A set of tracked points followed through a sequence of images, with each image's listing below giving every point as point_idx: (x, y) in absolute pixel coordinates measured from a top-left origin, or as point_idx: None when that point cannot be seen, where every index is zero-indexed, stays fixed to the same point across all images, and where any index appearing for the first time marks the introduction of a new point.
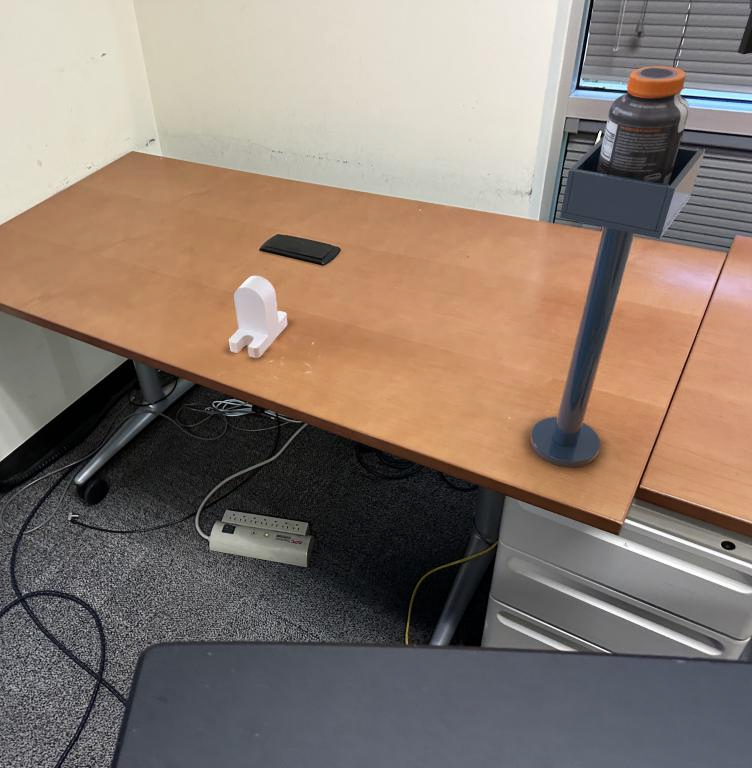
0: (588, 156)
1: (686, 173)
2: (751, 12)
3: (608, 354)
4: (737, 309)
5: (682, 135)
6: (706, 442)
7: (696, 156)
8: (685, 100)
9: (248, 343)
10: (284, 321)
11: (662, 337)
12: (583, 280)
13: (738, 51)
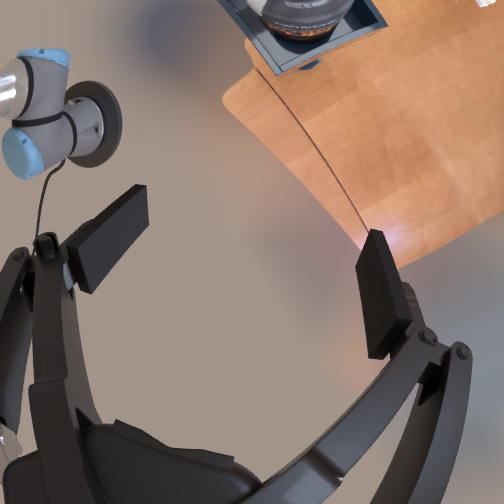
0: None
1: (230, 15)
2: (394, 267)
3: (361, 136)
4: (351, 234)
5: (259, 16)
6: (268, 122)
7: (265, 54)
8: (266, 4)
9: None
10: (479, 2)
11: (356, 177)
12: (428, 189)
13: (381, 231)
